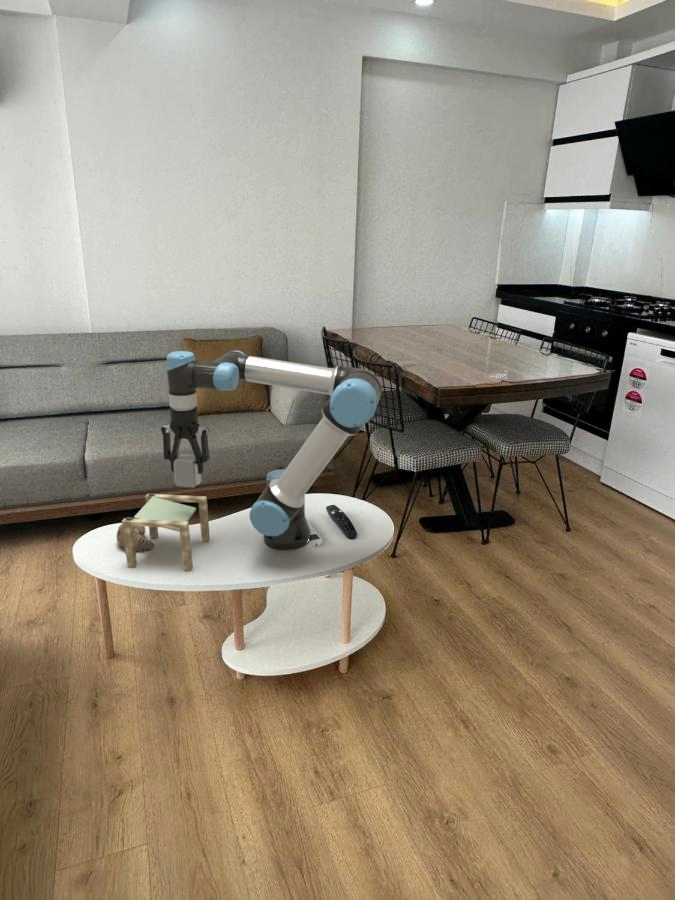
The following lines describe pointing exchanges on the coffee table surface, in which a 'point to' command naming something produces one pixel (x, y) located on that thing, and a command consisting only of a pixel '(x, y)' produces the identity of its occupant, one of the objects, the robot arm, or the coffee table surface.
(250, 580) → the coffee table surface
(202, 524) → the frame
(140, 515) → the trapdoor
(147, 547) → the seashell
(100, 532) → the coffee table surface
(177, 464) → the grey rectangular block
